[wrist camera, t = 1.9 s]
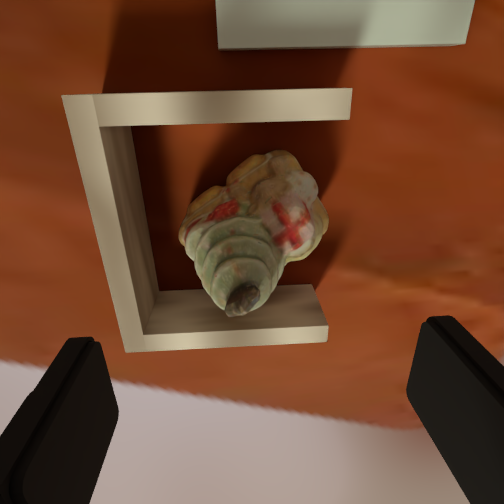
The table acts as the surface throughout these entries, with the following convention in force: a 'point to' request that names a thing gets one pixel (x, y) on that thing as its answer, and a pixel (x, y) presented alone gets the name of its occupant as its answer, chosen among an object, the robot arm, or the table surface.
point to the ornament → (253, 229)
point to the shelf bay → (136, 228)
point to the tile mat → (341, 23)
